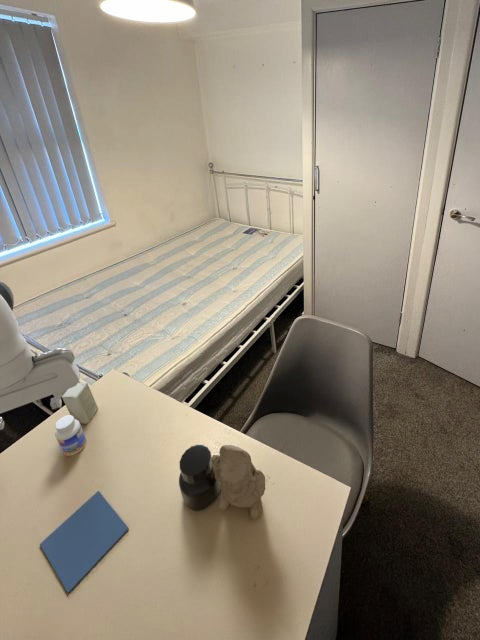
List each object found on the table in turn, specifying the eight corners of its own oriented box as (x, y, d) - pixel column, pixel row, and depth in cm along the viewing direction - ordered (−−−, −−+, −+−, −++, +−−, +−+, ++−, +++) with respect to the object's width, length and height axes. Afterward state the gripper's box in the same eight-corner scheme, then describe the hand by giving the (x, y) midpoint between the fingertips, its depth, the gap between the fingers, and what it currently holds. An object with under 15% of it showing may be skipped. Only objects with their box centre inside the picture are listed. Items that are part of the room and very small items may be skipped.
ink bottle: (214, 462, 82) (208, 431, 77) (229, 493, 76) (223, 462, 71) (176, 487, 77) (167, 456, 72) (188, 523, 71) (179, 491, 66)
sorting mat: (40, 545, 67) (39, 544, 67) (98, 491, 76) (98, 490, 76) (68, 593, 61) (67, 593, 61) (129, 529, 70) (128, 528, 70)
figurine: (209, 512, 72) (196, 458, 64) (225, 479, 79) (216, 425, 70) (260, 535, 69) (254, 480, 60) (273, 498, 75) (269, 443, 67)
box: (85, 407, 97) (74, 381, 92) (98, 408, 97) (88, 381, 92) (73, 424, 92) (60, 397, 87) (87, 424, 92) (76, 397, 87)
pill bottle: (60, 458, 83) (47, 434, 79) (67, 439, 88) (56, 415, 84) (83, 453, 85) (72, 428, 81) (89, 434, 89) (79, 410, 85)
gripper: (70, 335, 66) (88, 383, 72) (-67, 377, 57) (-33, 428, 63) (68, 355, 62) (89, 404, 67) (-82, 404, 52) (-43, 456, 58)
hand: (29, 416), depth 65 cm, fingers open, 8 cm apart
